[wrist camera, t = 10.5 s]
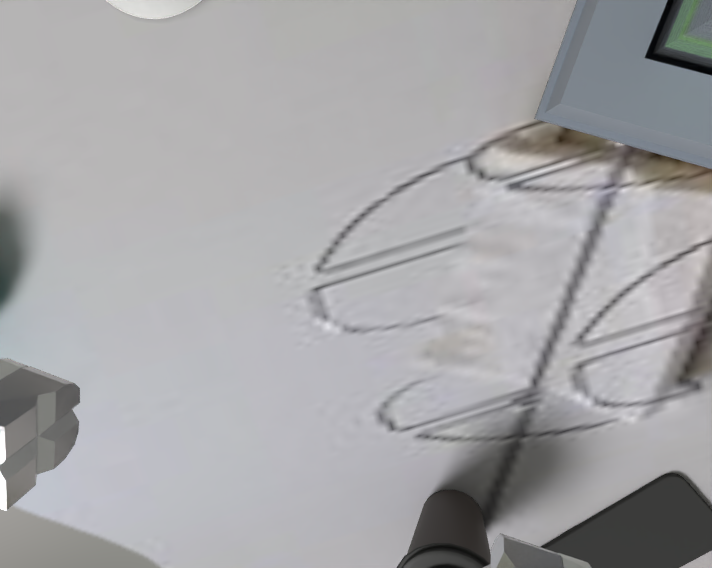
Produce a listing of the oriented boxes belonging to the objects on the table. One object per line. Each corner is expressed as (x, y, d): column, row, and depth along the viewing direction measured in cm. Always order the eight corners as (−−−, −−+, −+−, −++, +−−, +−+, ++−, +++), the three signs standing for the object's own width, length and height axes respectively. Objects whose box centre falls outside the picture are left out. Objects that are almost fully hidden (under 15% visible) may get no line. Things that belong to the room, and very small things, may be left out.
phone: (736, 538, 44) (578, 622, 48) (731, 531, 44) (576, 615, 49) (676, 469, 43) (523, 560, 48) (672, 464, 44) (522, 554, 49)
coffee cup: (408, 470, 49) (392, 546, 39) (502, 481, 47) (509, 564, 38) (405, 548, 51) (389, 639, 41) (495, 562, 49) (501, 660, 39)
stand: (534, 118, 40) (551, 107, 31) (604, -77, 37) (646, -150, 28) (715, 170, 39) (786, 174, 30) (807, -29, 35) (919, -92, 26)
